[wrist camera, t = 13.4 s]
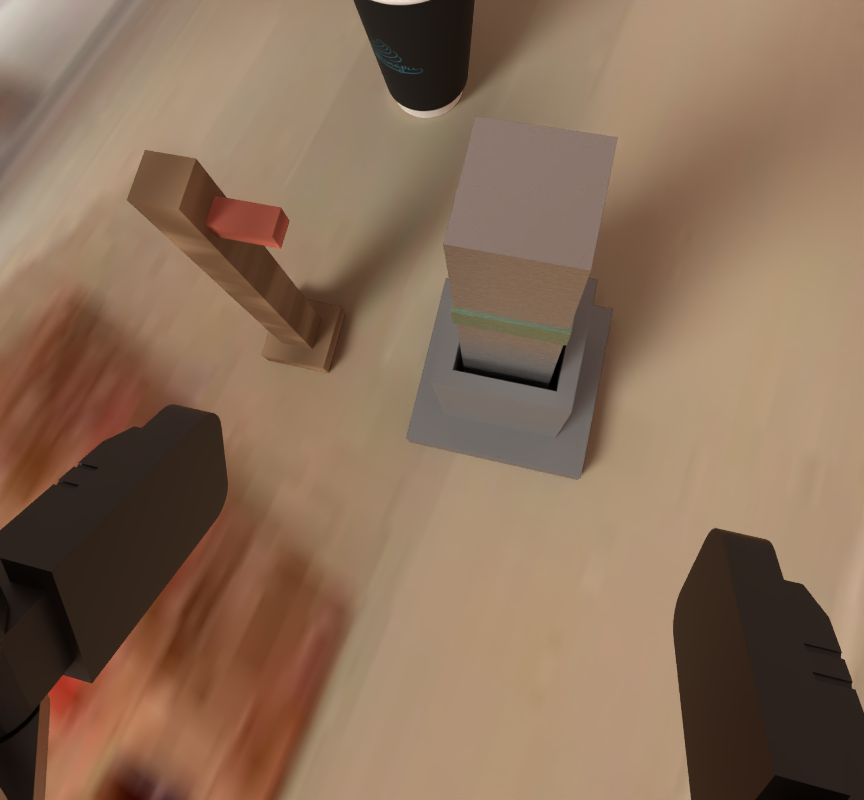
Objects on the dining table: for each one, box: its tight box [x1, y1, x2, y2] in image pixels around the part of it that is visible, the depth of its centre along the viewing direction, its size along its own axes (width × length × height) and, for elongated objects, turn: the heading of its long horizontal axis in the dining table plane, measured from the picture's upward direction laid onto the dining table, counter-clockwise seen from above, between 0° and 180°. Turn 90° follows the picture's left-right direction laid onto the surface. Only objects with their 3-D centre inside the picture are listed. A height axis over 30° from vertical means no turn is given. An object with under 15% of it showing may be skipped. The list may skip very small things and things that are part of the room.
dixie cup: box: [354, 0, 475, 118], centre depth 37 cm, size 8×8×11 cm
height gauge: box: [127, 150, 345, 373], centre depth 30 cm, size 6×4×18 cm
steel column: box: [443, 116, 618, 389], centre depth 24 cm, size 4×4×14 cm
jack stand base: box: [406, 278, 613, 480], centre depth 33 cm, size 10×10×9 cm
